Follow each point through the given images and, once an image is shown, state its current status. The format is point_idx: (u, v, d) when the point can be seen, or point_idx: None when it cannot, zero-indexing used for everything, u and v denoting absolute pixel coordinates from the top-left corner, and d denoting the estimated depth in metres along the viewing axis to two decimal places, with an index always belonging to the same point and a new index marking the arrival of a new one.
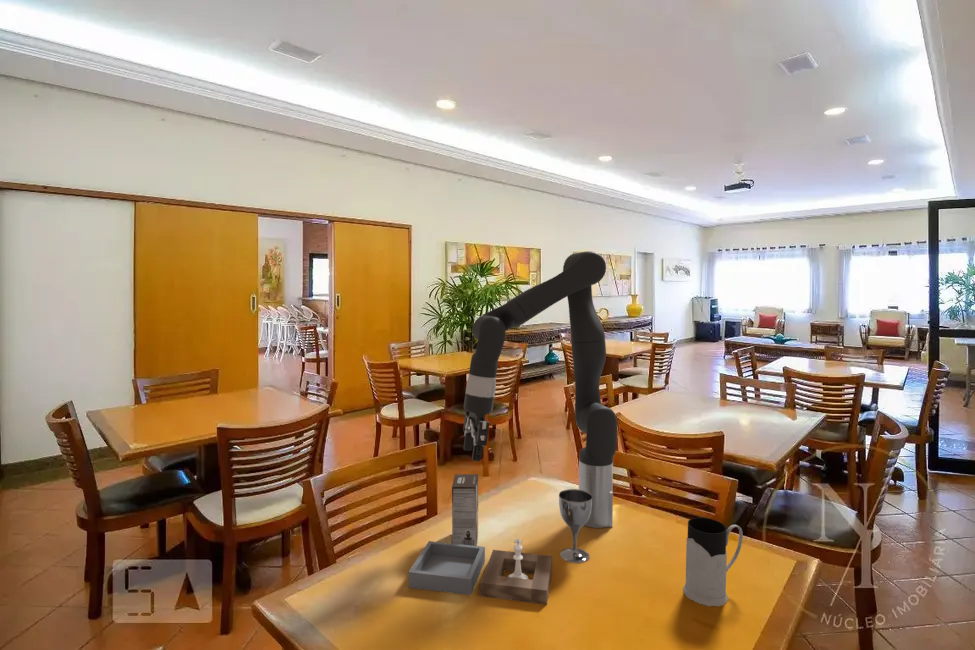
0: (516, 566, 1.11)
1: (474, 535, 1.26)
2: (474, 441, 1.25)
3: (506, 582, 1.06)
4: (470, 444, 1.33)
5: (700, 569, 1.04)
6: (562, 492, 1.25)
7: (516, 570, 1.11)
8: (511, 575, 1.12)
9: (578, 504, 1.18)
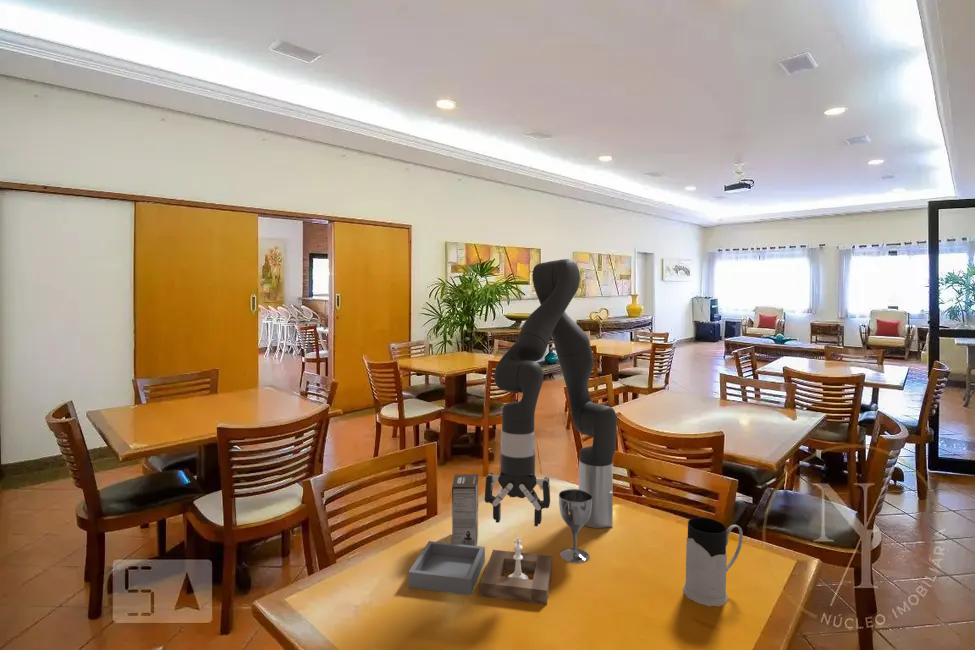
0: (516, 566, 1.11)
1: (474, 535, 1.26)
2: (536, 505, 1.08)
3: (506, 582, 1.06)
4: (500, 512, 1.12)
5: (700, 569, 1.04)
6: (562, 492, 1.25)
7: (516, 570, 1.11)
8: (511, 575, 1.12)
9: (578, 504, 1.18)
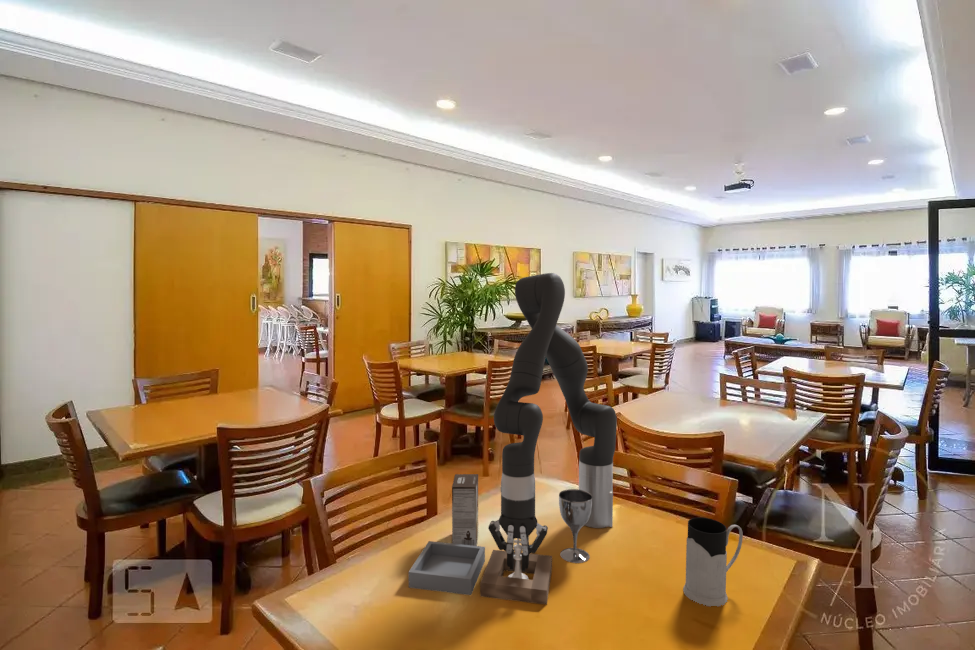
0: (516, 566, 1.11)
1: (474, 535, 1.26)
2: (525, 550, 1.10)
3: (506, 582, 1.06)
4: (513, 559, 1.12)
5: (700, 569, 1.04)
6: (562, 492, 1.25)
7: (516, 570, 1.11)
8: (511, 575, 1.12)
9: (578, 504, 1.18)
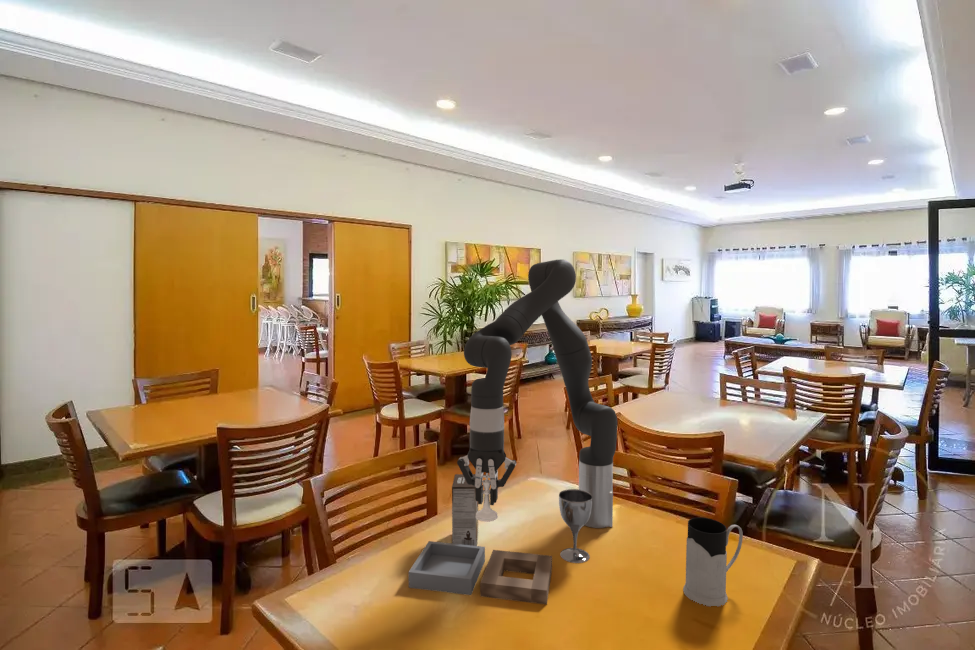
0: (485, 501, 1.11)
1: (474, 535, 1.26)
2: (493, 484, 1.10)
3: (506, 582, 1.06)
4: (482, 494, 1.12)
5: (700, 569, 1.04)
6: (562, 492, 1.25)
7: (485, 505, 1.11)
8: (480, 510, 1.12)
9: (578, 504, 1.18)
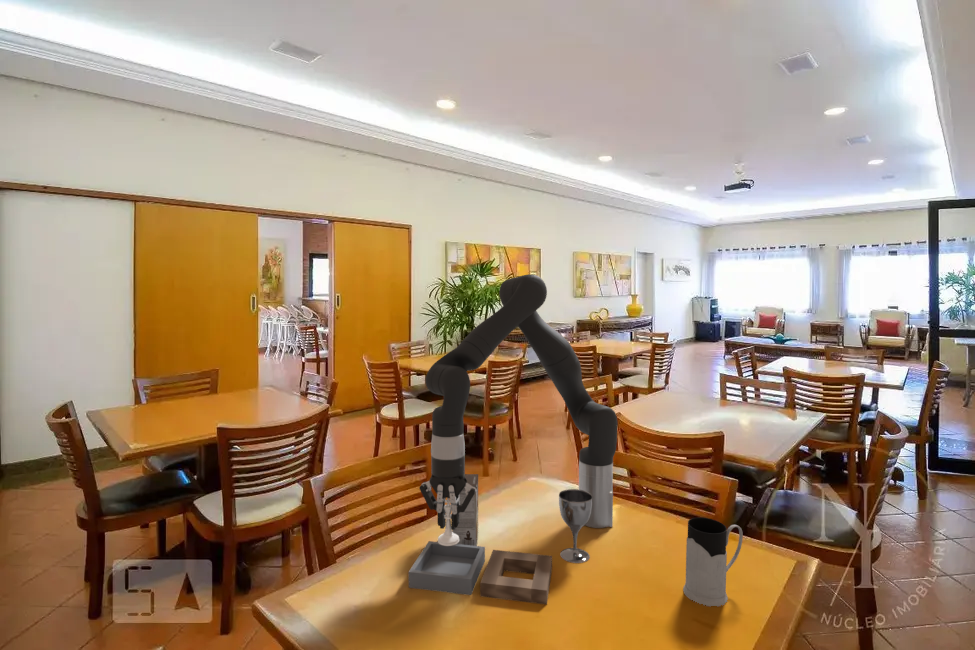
0: (446, 525, 1.14)
1: (474, 535, 1.26)
2: (454, 509, 1.12)
3: (506, 582, 1.06)
4: (444, 519, 1.15)
5: (700, 569, 1.04)
6: (562, 492, 1.25)
7: (446, 529, 1.14)
8: (442, 534, 1.15)
9: (578, 504, 1.18)
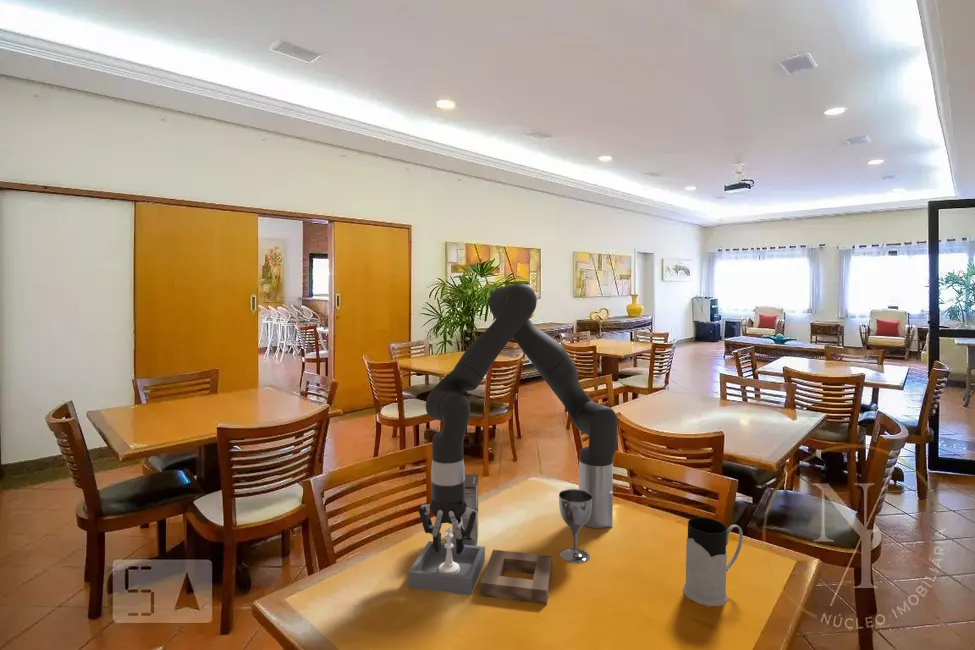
0: (447, 554, 1.14)
1: (474, 535, 1.26)
2: (458, 534, 1.12)
3: (506, 582, 1.06)
4: (440, 542, 1.15)
5: (700, 569, 1.04)
6: (562, 492, 1.25)
7: (447, 558, 1.14)
8: (443, 563, 1.15)
9: (578, 504, 1.18)
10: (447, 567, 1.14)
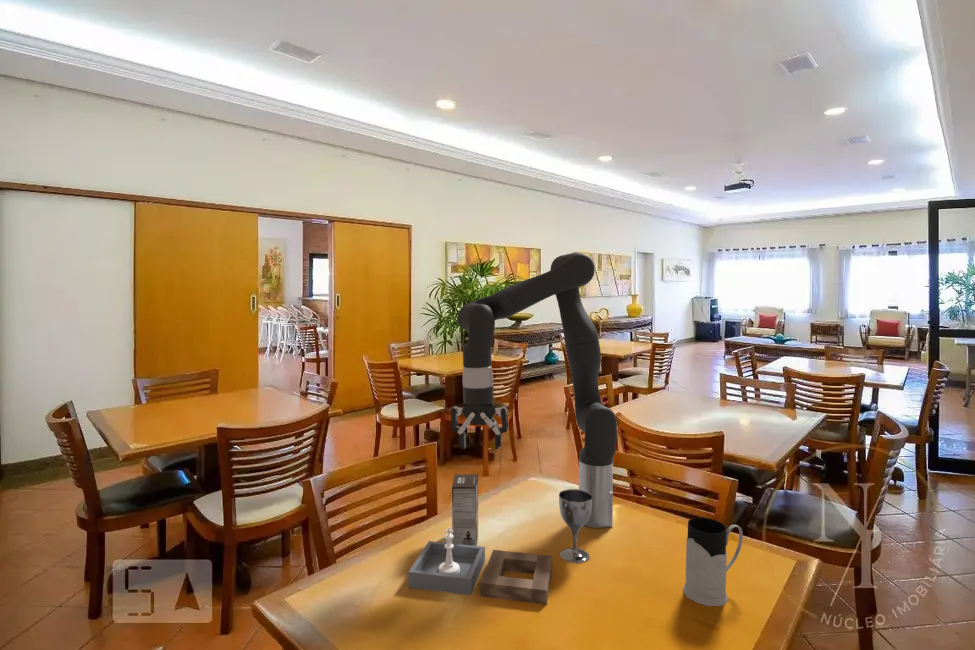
0: (447, 555, 1.14)
1: (474, 535, 1.26)
2: (496, 431, 1.23)
3: (506, 582, 1.06)
4: (465, 440, 1.27)
5: (700, 569, 1.04)
6: (562, 492, 1.25)
7: (447, 559, 1.14)
8: (443, 563, 1.15)
9: (578, 504, 1.18)
10: (447, 567, 1.14)
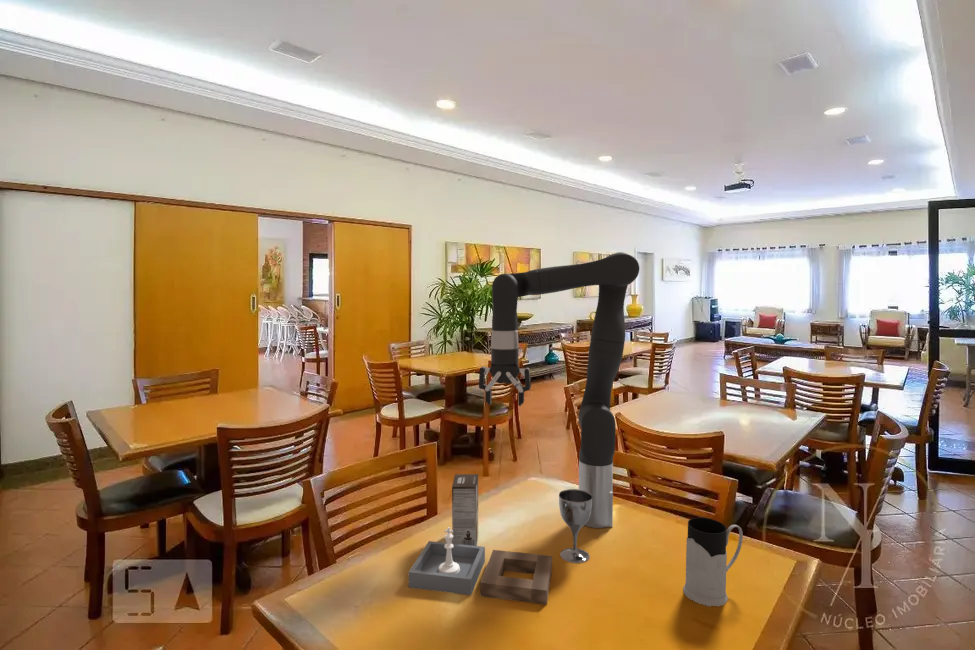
0: (447, 555, 1.14)
1: (474, 535, 1.26)
2: (520, 389, 1.37)
3: (506, 582, 1.06)
4: (491, 397, 1.41)
5: (700, 569, 1.04)
6: (562, 492, 1.25)
7: (447, 559, 1.14)
8: (443, 564, 1.15)
9: (578, 504, 1.18)
10: (447, 567, 1.14)
